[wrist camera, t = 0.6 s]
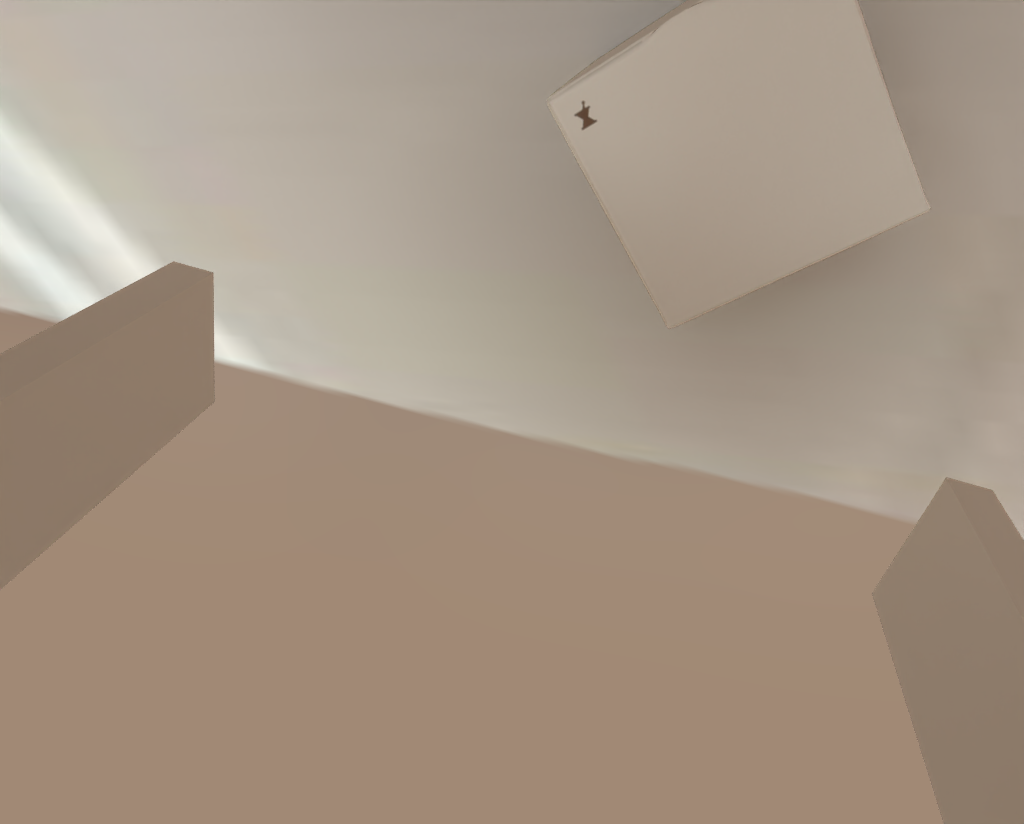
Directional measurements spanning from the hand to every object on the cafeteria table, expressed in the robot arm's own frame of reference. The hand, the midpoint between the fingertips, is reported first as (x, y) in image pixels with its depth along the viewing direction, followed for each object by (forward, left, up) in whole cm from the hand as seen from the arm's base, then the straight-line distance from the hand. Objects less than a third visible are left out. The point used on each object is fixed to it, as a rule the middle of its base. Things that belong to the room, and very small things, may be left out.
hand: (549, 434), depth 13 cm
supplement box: (-3, +3, -28) cm, 28 cm away
